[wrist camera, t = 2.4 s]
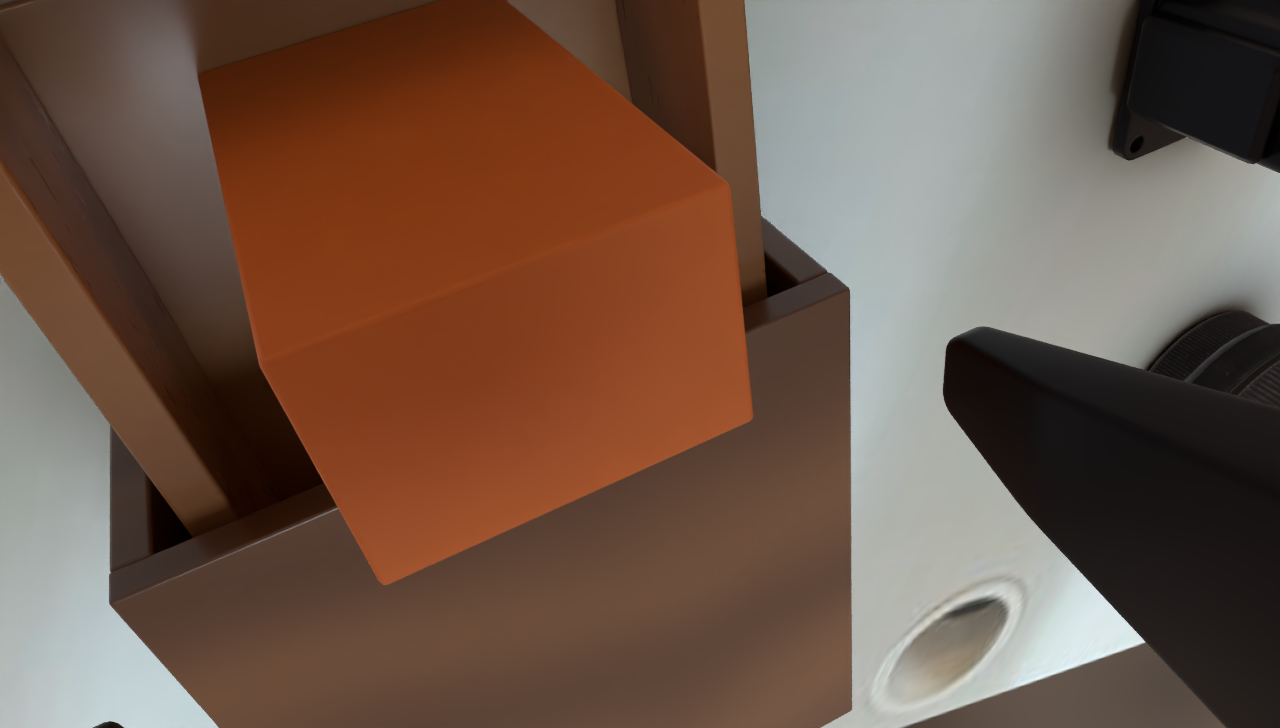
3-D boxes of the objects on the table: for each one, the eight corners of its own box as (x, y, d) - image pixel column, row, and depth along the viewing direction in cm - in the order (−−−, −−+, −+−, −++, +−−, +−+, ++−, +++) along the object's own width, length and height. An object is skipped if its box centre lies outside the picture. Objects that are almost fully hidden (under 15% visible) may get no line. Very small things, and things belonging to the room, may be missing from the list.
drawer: (-560, -648, 9) (-959, -839, 6) (560, -765, 12) (738, -940, 9) (241, 535, 21) (266, 700, 18) (707, 338, 24) (807, 448, 21)
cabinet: (108, 373, 19) (106, 604, 14) (692, 157, 22) (851, 287, 17) (366, 742, 29) (416, 950, 24) (743, 558, 32) (852, 710, 27)
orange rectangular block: (489, -16, 16) (733, 183, 10) (535, 165, 18) (756, 421, 12) (195, 73, 15) (255, 364, 8) (283, 255, 17) (382, 590, 11)
